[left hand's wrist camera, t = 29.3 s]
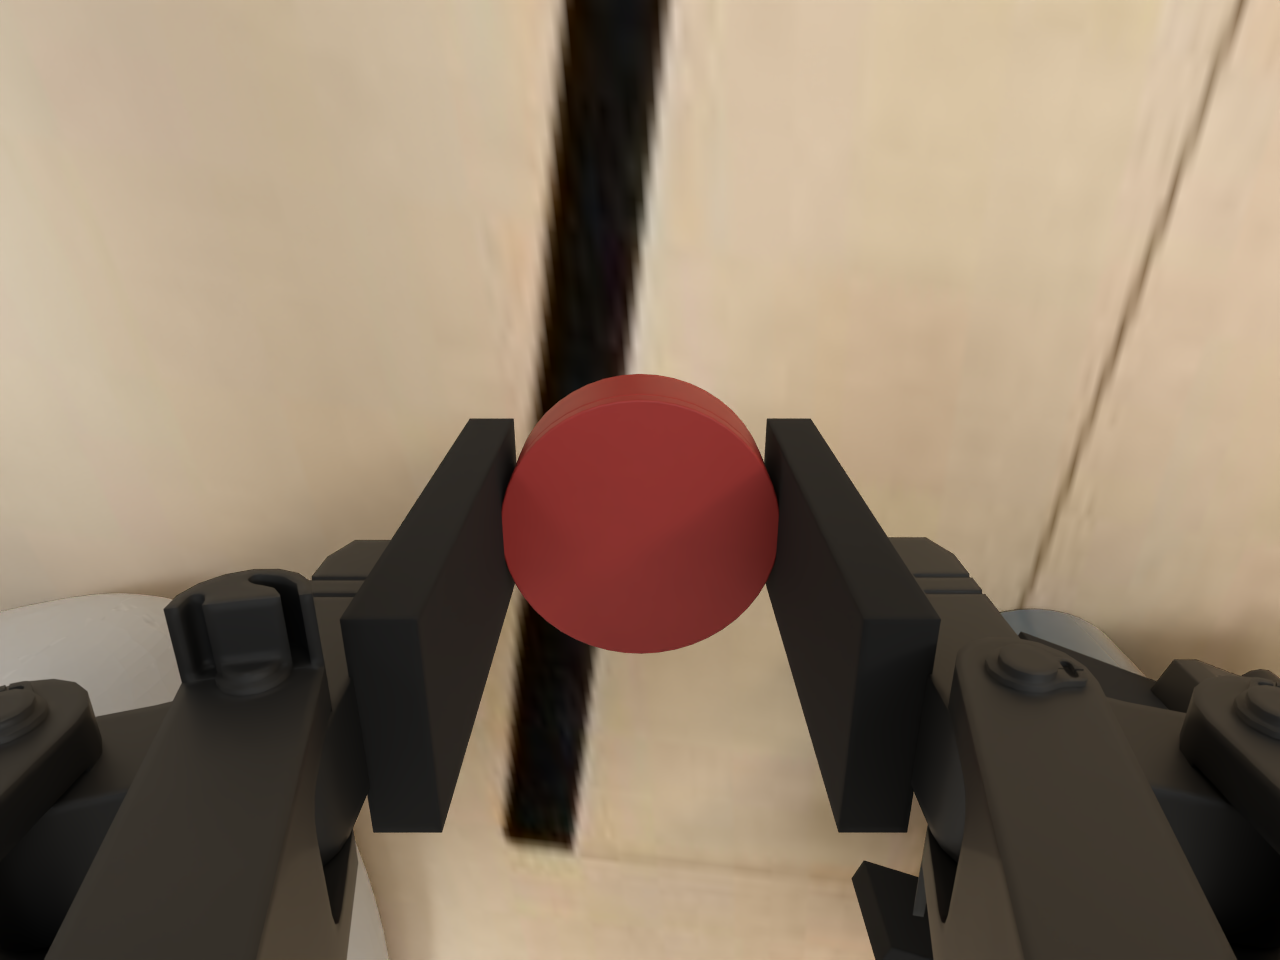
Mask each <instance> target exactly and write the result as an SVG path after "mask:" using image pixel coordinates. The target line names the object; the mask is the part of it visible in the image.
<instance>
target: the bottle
mask: <svg viewBox="0 0 1280 960" xmlns="http://www.w3.org/2000/svg"><path fill="white" fill-rule="evenodd" d="M1000 614H1001V615H1002V616H1003V617H1004V619H1005V620H1006V621H1007V622H1008V624H1009V625H1010V626H1011V627H1012V629H1013V630H1014V631H1015V633H1016V634H1017V635H1019V633H1020V632H1021V631H1022V632H1024V633H1027V634H1030V635H1032V636H1035V637H1038V638H1040V639H1043V640H1046V641H1049V642H1051V643H1054V644H1057V645H1059V646H1062V647H1065V648H1068V649H1070V650H1073V651H1076V652H1078V653H1081V654H1084V655H1086V656H1089V657H1092V658H1095V659H1097V660H1100V661H1103V662H1105V663H1108V664H1111V665H1114V666H1116V667H1119V668H1122V669H1124V670H1127V671H1130V672H1132V673H1135V674H1138V675H1141V676H1143V677H1146V676H1145V675H1144V674H1143V673H1142V672H1141V671H1140V669H1139V668H1138V667H1137V666H1136V665H1135V664H1134V663H1133V662H1132V661H1131V660H1130V659H1129V658H1128V657H1127V656H1126V655H1125V654H1124V653H1123V652H1122V651H1121V650H1120V649H1119V648H1118V647H1117V645H1116V644H1115V643H1114V642H1113V641H1112V640H1111V639H1110V638H1109V637H1108V636H1107V635H1106V634H1105V633H1104V632H1103V631H1101V630H1100V629H1098V628H1097V627H1095V626H1094V625H1093V624H1091V623H1089V622H1087V621H1085V620H1083V619H1081V618H1079V617H1076V616H1073V615H1070V614H1067V613H1063V612H1058V611H1053V610H1044V609H1019V610H1012V611H1006V612H1001V613H1000ZM1146 678H1147V677H1146Z"/></svg>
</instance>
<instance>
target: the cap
mask: <svg viewBox="0 0 1280 960" xmlns="http://www.w3.org/2000/svg"><path fill="white" fill-rule="evenodd" d="M778 521H779V506H778V500H777V496H776V493H775V490H774V487H773V484H772V481H771V479H770V476H769V474H768V471H767V469H766V466H765V464H764V461H763V459H762V456H761V454H760V452H759V449H758V447H757V445H756V443H755V441H754V439H753V437H752V435H751V434H750V432H749V431H748V429H747V428H746V426H745V425H744V423H743V422H742V421H741V420H740V419H739V418H738V416H737V415H736V414H735V413H734V412H733V411H732V410H731V409H730V408H729V407H727V406H726V405H725V404H724V403H723V402H722V401H720V400H719V399H718V398H716V397H714V396H713V395H711V394H710V393H708V392H707V391H705V390H703V389H701V388H699V387H697V386H694V385H692V384H690V383H687V382H684V381H681V380H678V379H675V378H670V377H665V376H659V375H647V374H633V375H621V376H616V377H611V378H606V379H603V380H600V381H597V382H594V383H591V384H588V385H586V386H584V387H582V388H580V389H578V390H576V391H574V392H572V393H571V394H569V395H568V396H566V397H565V398H563V399H562V400H560V401H559V402H558V403H557V404H555V405H554V406H553V407H552V408H551V409H550V410H549V411H548V412H546V414H545V415H544V416H543V417H542V418H541V419H540V421H539V422H538V423H537V424H536V425H535V427H534V429H533V430H532V432H531V433H530V435H529V436H528V438H527V440H526V442H525V444H524V447H523V449H522V451H521V453H520V456H519V458H518V461H517V463H516V466H515V468H514V471H513V473H512V475H511V478H510V480H509V483H508V485H507V489H506V492H505V495H504V499H503V503H502V527H503V542H504V555H505V560H506V564H507V567H508V569H509V571H510V574H511V576H512V578H513V580H514V582H515V584H516V585H517V587H518V589H519V590H520V592H521V593H522V595H523V596H524V598H525V599H526V600H527V601H528V603H529V604H530V605H531V606H532V607H533V608H534V610H535V611H536V612H538V613H539V614H540V615H541V616H542V617H543V618H544V619H545V620H546V621H547V622H549V623H550V624H552V625H553V626H554V627H556V628H557V629H559V630H560V631H562V632H563V633H565V634H567V635H569V636H571V637H573V638H574V639H576V640H579V641H581V642H584V643H586V644H589V645H591V646H595V647H599V648H602V649H606V650H611V651H617V652H623V653H641V654H642V653H657V652H664V651H670V650H675V649H679V648H682V647H685V646H689V645H692V644H694V643H697V642H699V641H702V640H704V639H706V638H708V637H710V636H712V635H714V634H715V633H717V632H719V631H721V630H722V629H724V628H725V627H726V626H728V625H729V624H730V623H732V622H733V621H734V620H736V619H737V618H738V617H739V616H740V615H741V614H742V613H743V612H744V611H745V610H746V609H747V608H748V607H749V606H750V605H751V603H752V602H753V601H754V600H755V598H756V597H757V596H758V595H759V593H760V591H761V590H762V588H763V586H764V585H765V583H766V581H767V580H768V577H769V575H770V573H771V570H772V568H773V566H774V563H775V559H776V549H777V535H778Z"/></svg>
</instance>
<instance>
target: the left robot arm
mask: <svg viewBox="0 0 1280 960" xmlns="http://www.w3.org/2000/svg"><path fill="white" fill-rule="evenodd" d="M764 464H765V466H766V469H767V471H768V474H769V476H770V479H771V481H772V484H773V487H774V490H775V493H776V496H777V500H778V506H779V521H778V535H777V549H776V559H775V563H774V566H773V568H772V570H771V573H770V575H769V577H768V580H767V581H766V586H767V590H768V593H769V597H770V600H771V603H772V607H773V610H774V614H775V617H776V621H777V624H778V627H779V631H780V634H781V638H782V641H783V644H784V648H785V651H786V655H787V658H788V661H789V665H790V668H791V672H792V675H793V679H794V682H795V685H796V689H797V692H798V696H799V699H800V702H801V706H802V709H803V713H804V716H805V719H806V723H807V726H808V730H809V733H810V736H811V740H812V743H813V747H814V750H815V754H816V757H817V760H818V764H819V767H820V771H821V774H822V777H823V781H824V784H825V788H826V791H827V794H828V798H829V801H830V805H831V808H832V812H833V815H834V818H835V822H836V825H837V829H838V832H907V830H908V824H909V817H910V811H911V805H912V799H913V792H914V793H915V795H916V798H917V800H918V802H919V805H920V807H921V809H922V811H923V814H924V816H925V818H926V821H927V823H928V826H927V832H926V838H925V844H924V850H923V856H922V861H921V867H920V873H919V879H918V885H917V891H916V897H915V903H914V909H913V915H914V916H920V917H924V912H925V907H926V902H927V910H928V918H929V926H930V934H931V943H932V951H933V959H934V960H1280V682H1278V681H1277V682H1276V683H1275V682H1273V680H1270V679H1265V678H1259V677H1244V676H1233V675H1225V676H1219V677H1212V678H1206V679H1205V680H1204V681H1202V682H1201V683H1200V684H1198V685H1197V686H1196V687H1194V690H1193V693H1192V697H1191V700H1190V703H1189V706H1188V710H1187V713H1183V712H1177V711H1172V710H1167V709H1161V708H1156V707H1151V706H1146V705H1140V704H1135V703H1130V702H1125V701H1121V700H1117V699H1113V698H1109V697H1106V696H1105V694H1104V692H1103V690H1102V688H1101V686H1100V684H1099V682H1098V681H1097V679H1096V678H1095V677H1094V676H1093V675H1092V673H1091V672H1090V671H1089V670H1088V669H1087V667H1086V666H1084V665H1083V664H1081V663H1080V662H1078V661H1077V660H1075V659H1074V658H1072V657H1071V656H1069V655H1068V654H1066V653H1064V652H1062V651H1059V650H1057V649H1054V648H1052V647H1049V646H1047V645H1044V644H1041V643H1039V642H1034V641H1029V640H1024V639H1020V638H1019V636H1018V635H1017V634H1016V633H1015V631H1014V630H1013V629H1012V627H1011V626H1010V625H1009V624H1008V622H1007V621H1006V620H1005V619H1004V617H1003V616H1002V615H1001V614H1000V612H999V611H998V610H997V608H996V607H995V606H994V605H993V603H992V602H991V601H990V600H989V598H988V597H987V596H986V595H985V594H982V589H981V588H980V587H979V586H978V584H977V583H976V582H975V581H974V579H973V578H969V573H968V572H967V570H966V569H965V568H964V567H963V565H962V564H961V563H960V562H959V560H958V559H957V558H956V556H955V555H954V554H952V553H951V552H949V551H947V550H946V549H944V548H942V547H941V546H939V545H937V544H936V543H934V542H933V541H931V540H929V539H928V538H926V537H887V535H886V534H885V532H884V531H883V529H882V528H881V526H880V525H879V523H878V522H877V520H876V518H875V517H874V515H873V514H872V512H871V511H870V509H869V508H868V506H867V505H866V503H865V502H864V500H863V498H862V497H861V495H860V494H859V492H858V491H857V489H856V488H855V486H854V485H853V483H852V482H851V480H850V478H849V477H848V475H847V474H846V472H845V471H844V469H843V468H842V466H841V465H840V463H839V462H838V460H837V458H836V457H835V455H834V454H833V452H832V451H831V449H830V448H829V446H828V445H827V443H826V442H825V440H824V438H823V437H822V435H821V434H820V432H819V431H818V429H817V428H816V426H815V425H814V423H813V422H812V420H811V419H767V426H766V443H765V459H764ZM515 466H516V450H515V434H514V419H469V421H468V422H467V424H466V426H465V427H464V429H463V430H462V432H461V433H460V435H459V436H458V438H457V439H456V441H455V442H454V444H453V446H452V447H451V449H450V450H449V452H448V453H447V455H446V456H445V458H444V459H443V461H442V462H441V464H440V466H439V467H438V469H437V470H436V472H435V473H434V475H433V476H432V478H431V479H430V481H429V482H428V484H427V486H426V487H425V489H424V490H423V492H422V493H421V495H420V496H419V498H418V499H417V501H416V502H415V504H414V506H413V507H412V509H411V510H410V512H409V513H408V515H407V516H406V518H405V519H404V521H403V522H402V524H401V526H400V527H399V529H398V530H397V532H396V533H395V535H394V536H393V538H392V539H391V540H355V541H353V542H351V543H350V544H348V545H346V546H345V547H343V548H341V549H340V550H338V551H336V552H335V553H333V554H331V555H330V556H328V557H327V558H326V559H325V561H324V562H323V563H322V564H321V566H320V567H319V568H318V570H317V571H316V572H315V573H314V575H313V576H312V581H309V580H308V579H306V578H305V577H303V576H302V575H301V574H299V573H295V572H291V571H286V570H281V569H253V570H247V571H241V572H236V573H230V574H225V575H222V576H219V577H216V578H213V579H210V580H207V581H204V582H201V583H199V584H197V585H195V586H193V587H191V588H190V589H188V590H186V591H184V592H182V593H180V594H179V595H177V596H176V597H175V598H174V599H173V600H172V601H171V602H170V603H169V604H168V605H167V606H166V607H165V608H164V609H163V610H164V614H165V618H166V622H167V626H168V630H169V634H170V638H171V642H172V646H173V650H174V654H175V658H176V662H177V666H178V670H179V674H180V678H181V682H182V683H181V685H180V687H179V689H178V691H177V693H176V695H175V697H174V699H173V701H171V702H167V703H163V704H159V705H154V706H149V707H144V708H138V709H133V710H128V711H123V712H117V713H112V714H107V715H102V716H96V717H95V714H94V711H93V707H92V704H91V701H90V698H89V694H88V691H87V690H85V689H84V688H83V687H81V686H80V685H79V684H77V683H76V682H72V681H65V680H59V679H45V680H35V681H21V682H16V683H11V684H9V686H6V685H3V686H0V960H347V953H348V945H349V936H350V928H351V920H352V911H353V903H354V895H355V886H356V878H357V870H358V857H357V850H356V844H355V838H354V832H353V826H354V824H355V822H356V819H357V817H358V815H359V812H360V810H361V808H362V805H363V803H364V801H365V798H366V796H367V795H368V801H369V808H370V814H371V820H372V826H373V832H442V830H443V827H444V824H445V820H446V817H447V813H448V810H449V807H450V803H451V800H452V796H453V793H454V790H455V786H456V783H457V779H458V776H459V772H460V769H461V766H462V762H463V759H464V755H465V752H466V749H467V745H468V742H469V738H470V735H471V732H472V728H473V725H474V721H475V718H476V714H477V711H478V708H479V704H480V701H481V697H482V694H483V691H484V687H485V684H486V680H487V677H488V674H489V670H490V667H491V663H492V660H493V656H494V653H495V650H496V646H497V643H498V639H499V636H500V633H501V629H502V626H503V622H504V619H505V615H506V612H507V609H508V605H509V602H510V598H511V595H512V592H513V588H514V585H515V582H514V580H513V578H512V576H511V574H510V571H509V569H508V567H507V564H506V560H505V555H504V542H503V527H502V503H503V499H504V495H505V492H506V489H507V485H508V483H509V480H510V478H511V475H512V473H513V471H514V468H515Z"/></svg>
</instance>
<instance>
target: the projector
mask: <svg viewBox="0 0 1280 960" xmlns="http://www.w3.org/2000/svg"><path fill="white" fill-rule="evenodd" d="M172 600H173V599H169V598H164V597H159V596H150V595H142V594H126V593H112V594H93V595H86V596H78V597H71V598H63V599H58V600H53V601H48V602H43V603H37V604H32V605H27V606H22V607H18V608H14V609H10V610H5V611H1V612H0V686H3V685H6V686H9V684H11V683H16V682H21V681H35V680H45V679H59V680H65V681H72V682H76V683H77V684H79V685H80V686H81V687H83V688H84V689H85V690H87V691H88V694H89V698H90V701H91V704H92V707H93V711H94V714H95V717H96V716H102V715H107V714H112V713H117V712H123V711H128V710H133V709H138V708H144V707H149V706H154V705H159V704H163V703H167V702H171V701H173V699H174V697H175V695H176V693H177V691H178V689H179V687H180V685H181V683H182V682H181V678H180V674H179V670H178V666H177V662H176V658H175V654H174V650H173V646H172V642H171V638H170V634H169V630H168V626H167V622H166V618H165V614H164V610H163V609H164V608H165V607H166V606H167V605H168V604H169V603H170V602H171V601H172ZM355 844H356V841H355ZM356 850H357V857H358V870H357V878H356V886H355V895H354V903H353V911H352V920H351V928H350V936H349V945H348V953H347V960H389V957H388V951H387V946H386V941H385V935H384V931H383V927H382V923H381V919H380V915H379V911H378V907H377V903H376V900H375V896H374V893H373V890H372V887H371V883H370V880H369V877H368V874H367V871H366V868H365V865H364V863H363V860H362V857H361V855H360V852H359V849H358V847H357V844H356Z"/></svg>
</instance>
